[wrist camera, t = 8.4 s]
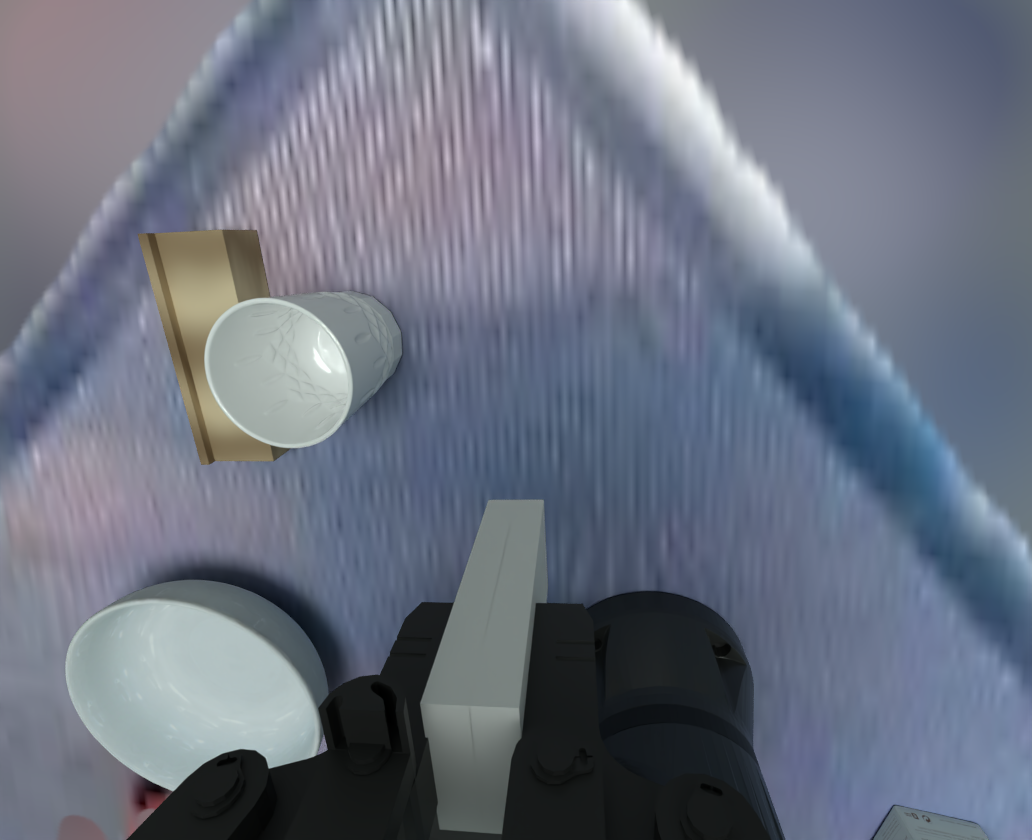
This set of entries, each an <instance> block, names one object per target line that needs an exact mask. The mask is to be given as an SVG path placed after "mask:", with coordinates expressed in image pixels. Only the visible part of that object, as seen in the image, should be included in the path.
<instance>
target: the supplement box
mask: <svg viewBox="0 0 1032 840" xmlns="http://www.w3.org/2000/svg"><path fill="white" fill-rule="evenodd" d="M873 840H989V839H988V837H987V836H986V835H985V833H984V832H983V830H982V829H981V827H980V826H979V825H977V824H975V823H972V822H968V821H964V820H960V819H955V818H951V817H947V816H942V815H938V814H934V813H929V812H925V811H920V810H916V809H911V808H906V807H902V806H893V808H892V810H891V811H890V813H889V815H888V816H887V818H886V820H885V821H884V823H883V824H882V826H881V828H880V829H879V831H878V832H877V834H876V836H875V837H874V839H873Z"/></svg>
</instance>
